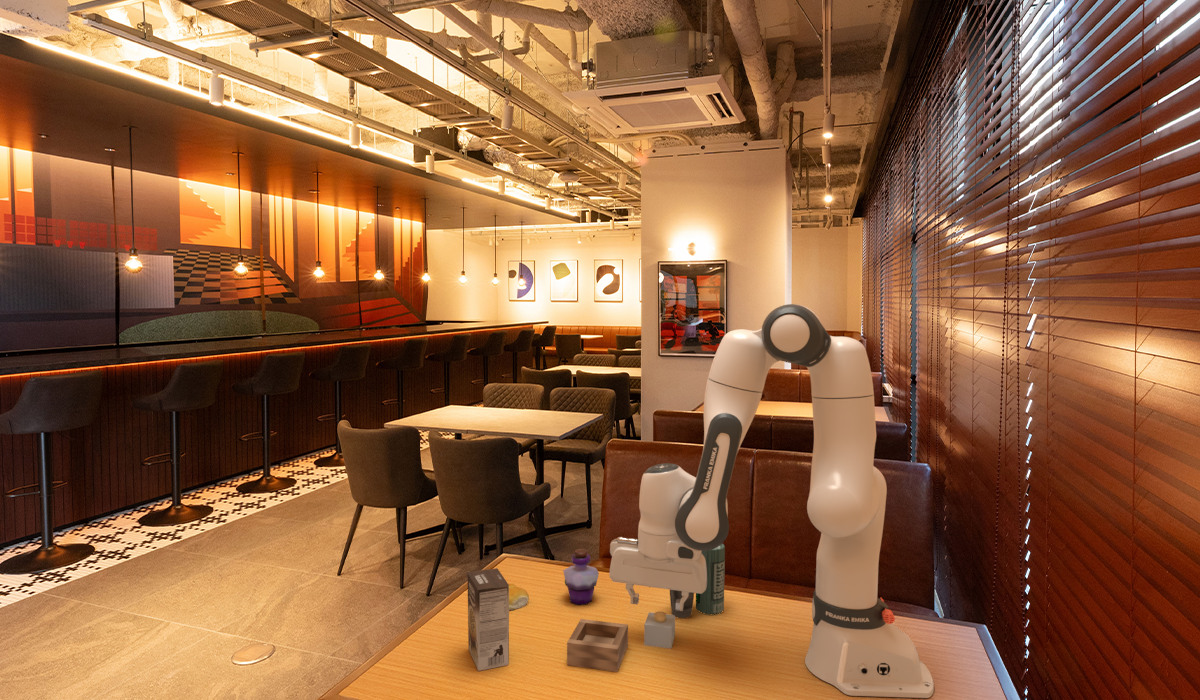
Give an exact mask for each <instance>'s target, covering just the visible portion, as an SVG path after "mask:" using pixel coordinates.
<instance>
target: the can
mask: <svg viewBox="0 0 1200 700" xmlns="http://www.w3.org/2000/svg"><path fill="white" fill-rule="evenodd" d="M702 554H703V556H704V558H705V561H706V567H707V588H706V590H705V591H704V592H703V593H702V594H699V593H695V609H697V610H696V611H697V612H698V611H700V612H702V613H701V614H703V613H705V614H706V615H708V614H714V615H713V616H716V615H718V614H719V613H720V614H722V613H723V612H724V609H725V562H726V560H725V559H726V558H725V557H726V556H725V555H726V546H725V544H724V543H722V544H721V545H720V546H718V547H717V548H715V549H712V550H708V551H702ZM722 611H723V612H722ZM700 612H699V613H700ZM721 612H722V613H721ZM705 614H704V615H705ZM715 614H716V615H715ZM720 614H719V615H720Z"/></svg>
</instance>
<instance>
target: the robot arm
mask: <svg viewBox="0 0 1200 700" xmlns="http://www.w3.org/2000/svg"><path fill="white" fill-rule="evenodd" d="M778 362H785V363H789V364H794V365H796V366H797V365H798V366H802V367H806V368H807V370H808V373H809V378H810V388H811V403H812V404H811V405H812V421H813V449H812V459H811V468H810V486H809V494H808V499H807V503H806V504H807V505H806V510H807V515H808V518H809V520H810V523H811V524H812V525H813V526H814V527H815V529H817V530H818V531H819V532H820V539H819V543H818V547H817V550H816V563H815V564H816V568H815V571H816V572H815V589H814V591H813V597H812V599H811V601H812V602H811V607H812V608H811V618H812V621H813V625H812V626H813V627H812V632H811V638H810V643H809V646H808V650H807V653H806V655H805V659H804V662H805V666H806V668H807V669H808V671H810V673H811V674H813V675H814V676H815V677H816V678H818V679H820V680H821V681H824V682H826V683H828V684H830V685H832V686H834V687H836V688H837V689H838V690H839V691H840V692H842V693H844V695H848V696H851V697H853V696H854V697H858V696H859V697H880V698H881V697H882V698H883V697H885V698H890V697H891V698H912V699H913V698H917V699H920V698H921V699H927V698H931V696H933V694H934V690H935V689H934V688H935V686H934V679H933V676H932V674H931V672H930V670H929V668H928V667H927V666H926V665H925V664H924V662H923V661H921V660H920V656H919V653H918V650H917V647H916V645H915V644H914V642H913V641H912V639H911V638H910V636H909V635H908V634H907V633H906V632H904V631H902V629H900V628H899V627H898V626H896V625H895V624H894V622H895V621H896V618H895V615H894V613H893V611H892V610H891V609H889V606H888V604H887V603H886V602H885V600H884V599H883V598H882V597H880V598H879V597H878V588H879V587H878V586H879V585H878V584H879V562H880V561H879V560H880V552H881V547H882V538H883V531H884V523H885V513H886V503H887V502H886V501H887V495H888V494H887V493H888V491H887V490H888V489H887V487H888V485H887V482H886V479H885V476H884V475H883V474H882V472H881V471H880V470H879V469H878V468H877V467H876V466H874V463H875V462H874V461H875V460H874V458H875V449H876V443H877V426H876V408H875V393H874V383H873V376H872V370H871V366H870V365H871V364H870V360H869V357H868V353H867V350H866V347H865V346H864V344H862V342H861V341H859V340H857V339H856V338H853V337H849V336H841V335H840V336H832V335H830V334H829V333H828V331H827V330H826V329H825V327H824V325H823V324H822V322H821V319H820V318H819V316H818V315H817V314H816V312H814V311H813V310H812V309H811V308H809V307H807V306H805V305H801V304H796V303H795V304H794V303H790V304H783V305H780V306H778V307H775V308H774V309H773V310H772V311H770V312H769V313H768V314H767V316H766V317H765V319H764V320H763V323H762V326H761V328H760V329H757V330H751V329H743V328H739V329H734V330H731V331H729V332H727V333H725V334H724V336H723V337H722V339H721V341H720V343H719V345H718V347H717V350H716V352H715V354H714V357H713V360H712V362H711V366H710V369H709V372H708V377H707V380H706V384H705V389H704V397H703V399H704V400H703V431H704V432H703V434H704V435H703V448H702V454H701V457H700V462H699V465H698V470H697V473H696V477H695V476H694V475H691V474H690V473H689V472H687V471H685V470H684V469H683V468H682V467H681V466H679V465H678V464H675V463H659V464H655V465H652V466H650V467H649V468H647V469H646V470H645V472H643V474H642V476H641V482H640V488H639V501H638V502H639V503H638V506H639V507H638V508H639V513H640V519H639V522H638V527H637V528H638V529H637V538H630V537H629V538H627V537H622V536H618V537H617V538H614V539H612V540H611V542H610V544H609V554H610V556H611V560H610V565H609V566H610V567H609V575H608V576H609V578H610V579H611V581H612V582H613V583H619V584H625V589H626V591H627V593H628V595H629V597H630V604H631V605H638V604H639V602H640V598H639V597H640V593H637V592H636V591H635V589H634V586H641V587H642V586H643V587H649V588H658V589H664V590H669V591H670V590H677V591H682V596H683V597H682V598H681V599H677V600H676V608H675V610H678V611H683V607H684V602H685V601H686V599H687V598H688V596H689V592H692V593H694V594H696V593H699V594H702V593H703V592H704V591H705V590H706V588H707V567H706V561H705V558H704V556H703V554H702V551H708V550H712V549H715V548H717V547H718V546H720V545H721V544H724V542H725V540H726V539H727V537H728V535H729V532H730V531H729V530H730V521H729V517H728V515H729V512H728V511H729V509H728V508H729V507H728V505H729V504H728V503H729V502H728V498H727V496H728V493H729V492H728V491H729V488H730V484H731V479H732V474H733V470H734V467H735V464H736V459H737V456H738V453H739V450H740V448H741V445H742V443H743V441H744V439H745V437H746V434H747V432H748V430H749V428H750V426H751V424H752V422H753V420H754V418H755V415H756V413H757V410H758V408H759V405H760V402H761V399H762V396H763V392H764V388H765V384H766V380H767V376H768V374H769V372H770V370H771V368H772V367H773V365H774V364H776V363H778Z"/></svg>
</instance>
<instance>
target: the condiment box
mask: <svg viewBox="0 0 1200 700" xmlns="http://www.w3.org/2000/svg"><path fill="white" fill-rule="evenodd" d="M628 646H629V624H628V623H627V624H626V623H620V622H619V623H618V622H612V621H611V622H610V621H609V622H608V621H602V620H601V621H600V620H594V619H593V620H592V619H585V618H581V619H580V620H579V622H578V623H577V624H576V626H575V628H574V630H573V632H572V633H571V634H570V637H569V639H568V640H567V643H566V665H567V666H572V667H579V668H586V669H593V670H599V671H607V672H614V673H618V671H619V669H620V667H621V664H622V662H623V659H624V657H625V654H626V652H627V650H628Z"/></svg>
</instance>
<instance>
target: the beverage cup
mask: <svg viewBox="0 0 1200 700" xmlns="http://www.w3.org/2000/svg"><path fill="white" fill-rule="evenodd" d="M669 597H670V599H669V600H670V607H671V615H675V618H677V617H678V619H687V617H688V618H690V617H692V615H691V614H693V607H694V599H695V598H694V597H695V593H692V592H689V596H688V598H687V599H686V601H685V602H684V607H683V611H678V610H675V608H676V600H677V599H681V598H682V597H683V596H682V591H677V590H670V589H669ZM689 616H690V617H689Z"/></svg>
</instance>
